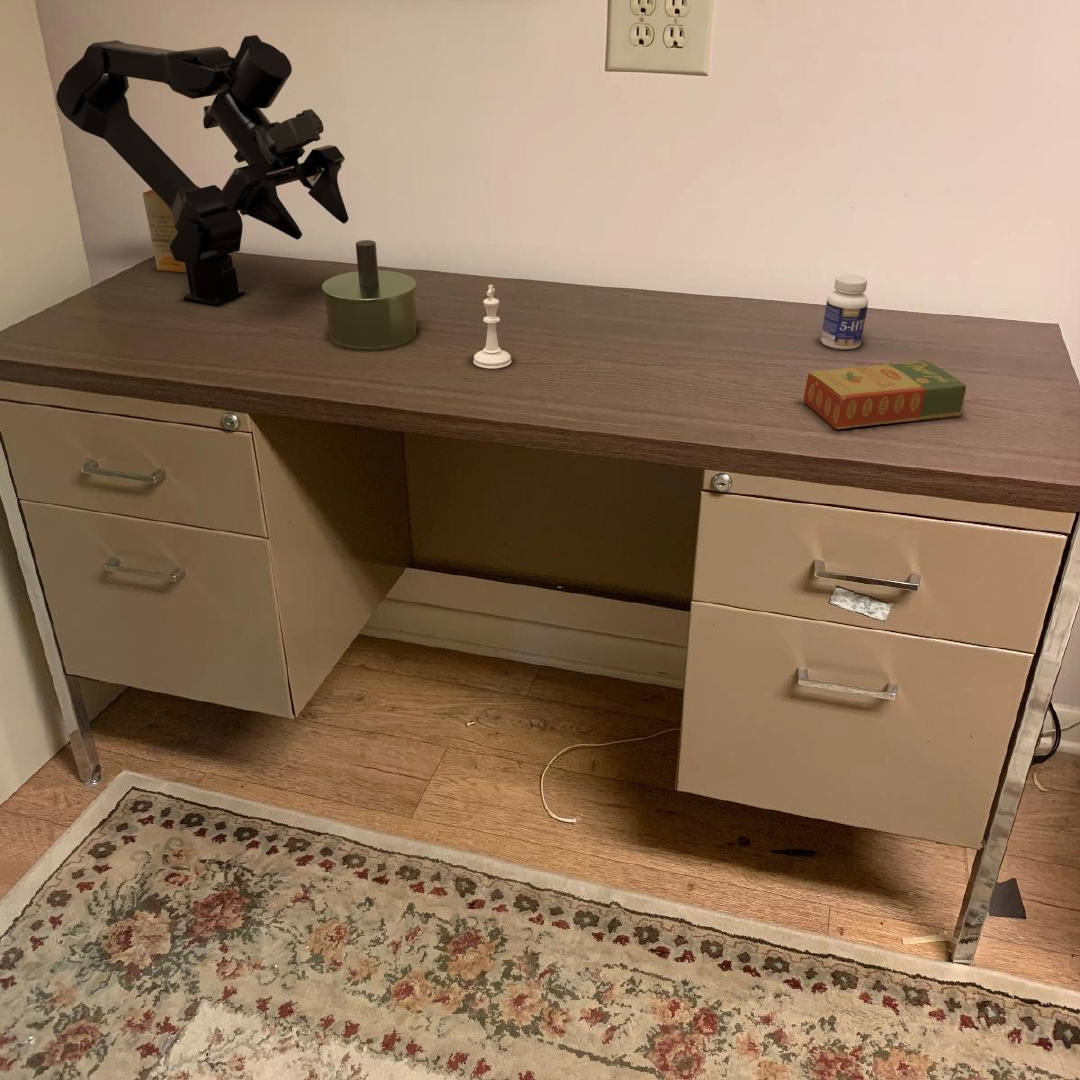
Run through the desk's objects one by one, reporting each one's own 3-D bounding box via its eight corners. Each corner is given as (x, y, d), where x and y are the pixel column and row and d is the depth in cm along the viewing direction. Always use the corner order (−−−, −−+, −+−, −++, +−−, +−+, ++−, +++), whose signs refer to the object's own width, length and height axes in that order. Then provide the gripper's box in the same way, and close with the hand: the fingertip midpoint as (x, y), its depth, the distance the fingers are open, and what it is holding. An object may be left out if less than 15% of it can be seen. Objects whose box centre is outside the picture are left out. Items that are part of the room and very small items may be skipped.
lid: (304, 300, 134) (298, 249, 131) (355, 274, 144) (350, 226, 141) (386, 313, 130) (382, 261, 127) (433, 285, 140) (430, 236, 136)
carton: (801, 403, 122) (806, 369, 120) (921, 389, 125) (928, 356, 123) (836, 432, 115) (842, 396, 113) (962, 417, 118) (970, 382, 116)
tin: (313, 342, 138) (307, 295, 134) (359, 316, 147) (355, 271, 143) (388, 356, 134) (384, 307, 130) (431, 327, 143) (428, 281, 139)
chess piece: (516, 357, 134) (516, 281, 128) (503, 371, 130) (502, 293, 124) (481, 352, 135) (479, 277, 130) (467, 365, 131) (464, 289, 126)
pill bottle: (838, 353, 135) (849, 287, 131) (812, 340, 139) (822, 275, 135) (869, 346, 137) (881, 281, 133) (842, 334, 141) (853, 270, 137)
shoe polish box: (201, 263, 168) (188, 187, 162) (185, 272, 164) (171, 195, 158) (173, 261, 169) (159, 186, 163) (157, 270, 165) (142, 193, 159)
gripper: (223, 99, 123) (303, 206, 124) (326, 80, 137) (398, 176, 138) (188, 160, 131) (264, 260, 132) (289, 137, 144) (357, 227, 145)
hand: (323, 229), depth 136 cm, fingers open, 9 cm apart
